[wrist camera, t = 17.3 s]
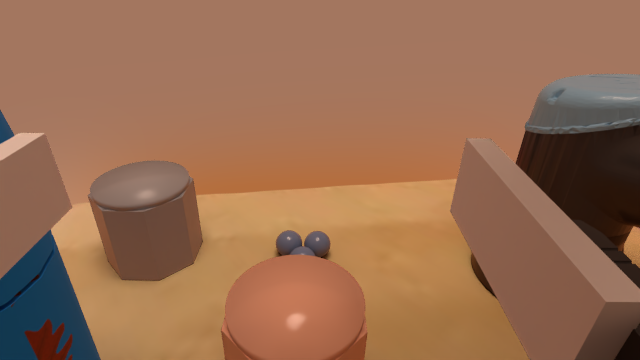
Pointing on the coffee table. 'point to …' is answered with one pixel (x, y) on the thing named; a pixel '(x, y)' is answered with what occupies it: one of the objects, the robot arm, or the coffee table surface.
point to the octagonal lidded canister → (295, 312)
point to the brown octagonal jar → (147, 219)
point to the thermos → (41, 304)
